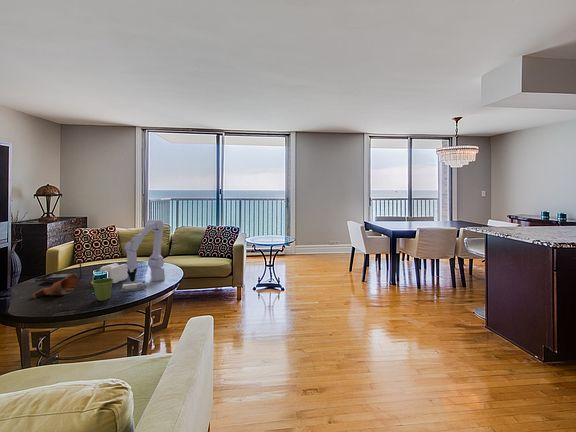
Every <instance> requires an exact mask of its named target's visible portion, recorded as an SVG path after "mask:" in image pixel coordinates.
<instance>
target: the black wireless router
mask: <svg viewBox="0 0 576 432" xmlns="http://www.w3.org/2000/svg"><path fill="white" fill-rule="evenodd" d="M72 274H73V273H57V274H54V273H53V274H51V275H49V276H47V277H46V278H44V281H45V284H54V283H56V282H59V281H61V280H63V279H65V278H66V277H67V276H69V275H72ZM74 274H75V275H76V276H77V277H78V279H79V280H82V279H83V273H82V262H81V256H79V276H78V273H75V272H74Z"/></svg>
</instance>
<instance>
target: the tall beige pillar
mask: <svg viewBox="0 0 576 432" xmlns="http://www.w3.org/2000/svg"><path fill="white" fill-rule="evenodd" d="M136 282H137V281H136ZM122 286H123V288H125V289H132V288H141V286H143V283H142V282H137V283H133V284H124V285H123V284H122Z"/></svg>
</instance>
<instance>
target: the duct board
mask: <svg viewBox="0 0 576 432" xmlns="http://www.w3.org/2000/svg"><path fill="white" fill-rule="evenodd" d="M137 282H142V283H143V286H141V288H132V289H125V288H123V285H124V284H133V283H137ZM145 287H146V280H140V281H139V280H138V281H133V282H131V281H129V282H122V286H121V289H120V293H127V292H136V291H144V290H145Z"/></svg>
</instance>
